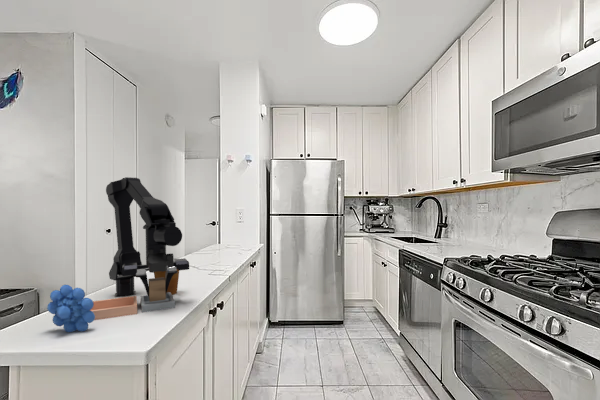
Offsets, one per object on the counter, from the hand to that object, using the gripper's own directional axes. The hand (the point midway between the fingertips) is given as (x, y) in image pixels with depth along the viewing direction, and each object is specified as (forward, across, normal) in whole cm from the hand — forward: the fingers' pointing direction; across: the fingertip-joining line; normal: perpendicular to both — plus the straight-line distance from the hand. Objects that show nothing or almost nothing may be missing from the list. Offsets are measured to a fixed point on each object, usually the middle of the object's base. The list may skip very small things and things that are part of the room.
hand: (157, 294), depth 108 cm
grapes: (+4, -21, -14) cm, 26 cm away
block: (+1, 0, 0) cm, 1 cm away
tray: (+4, 0, 0) cm, 4 cm away
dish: (+4, -13, -1) cm, 14 cm away
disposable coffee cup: (+4, +4, +13) cm, 14 cm away
